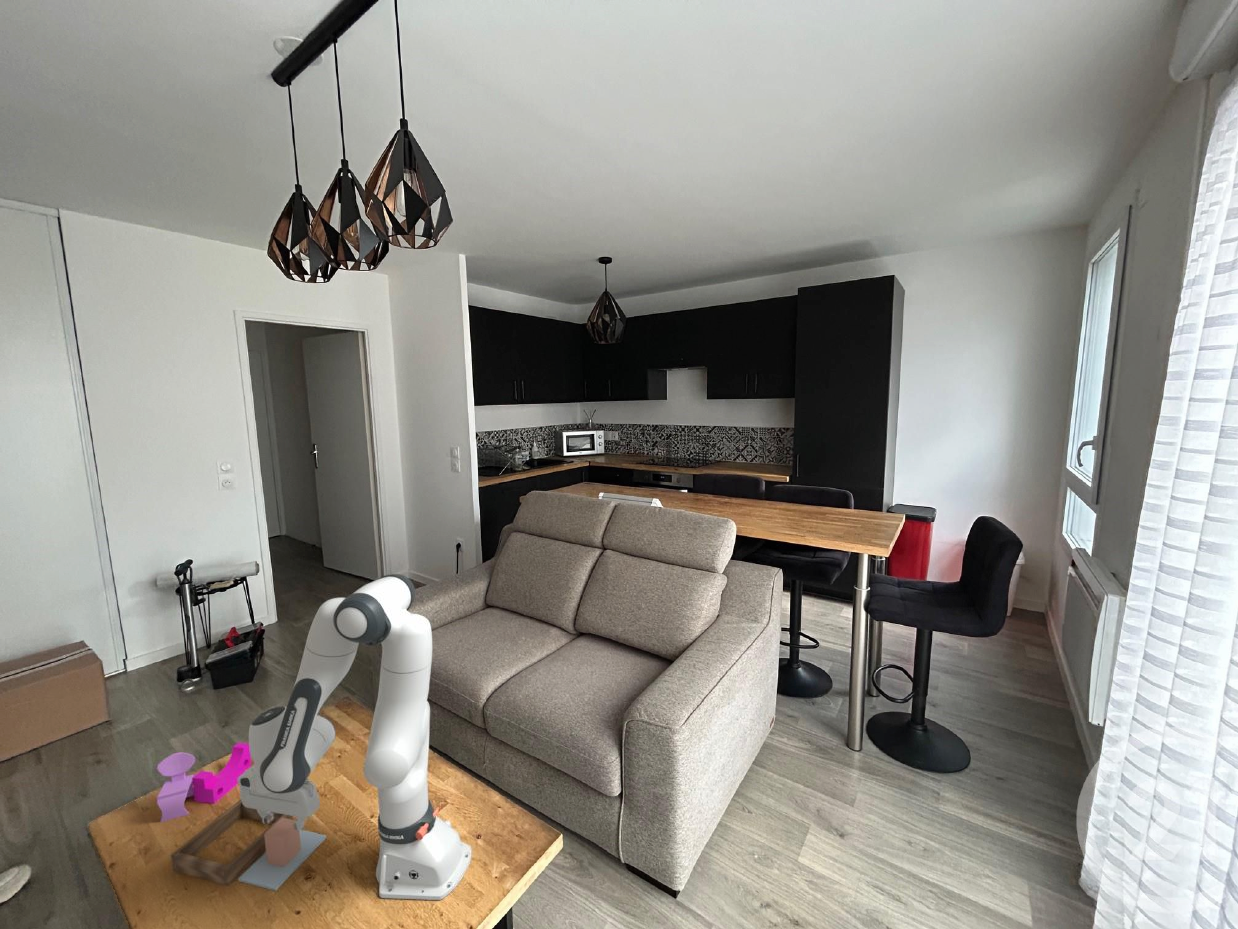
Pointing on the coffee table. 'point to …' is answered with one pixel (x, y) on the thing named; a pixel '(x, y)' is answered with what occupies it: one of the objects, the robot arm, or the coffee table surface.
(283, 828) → the block
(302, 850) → the mat
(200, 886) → the coffee table surface
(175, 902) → the coffee table surface
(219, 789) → the magenta arched bracket
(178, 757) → the toy chair
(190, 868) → the wooden frame
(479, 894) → the coffee table surface
